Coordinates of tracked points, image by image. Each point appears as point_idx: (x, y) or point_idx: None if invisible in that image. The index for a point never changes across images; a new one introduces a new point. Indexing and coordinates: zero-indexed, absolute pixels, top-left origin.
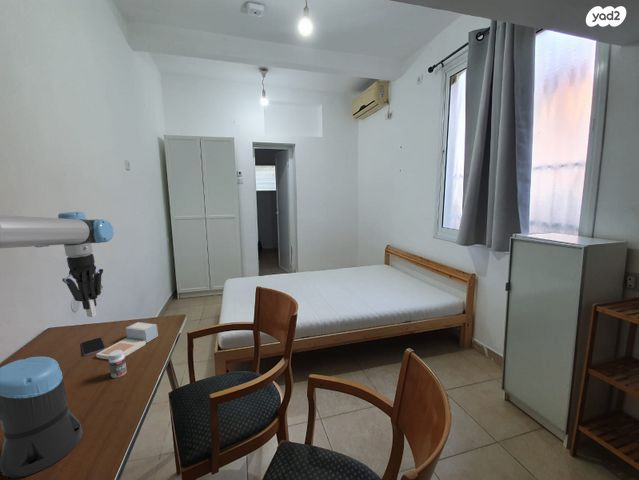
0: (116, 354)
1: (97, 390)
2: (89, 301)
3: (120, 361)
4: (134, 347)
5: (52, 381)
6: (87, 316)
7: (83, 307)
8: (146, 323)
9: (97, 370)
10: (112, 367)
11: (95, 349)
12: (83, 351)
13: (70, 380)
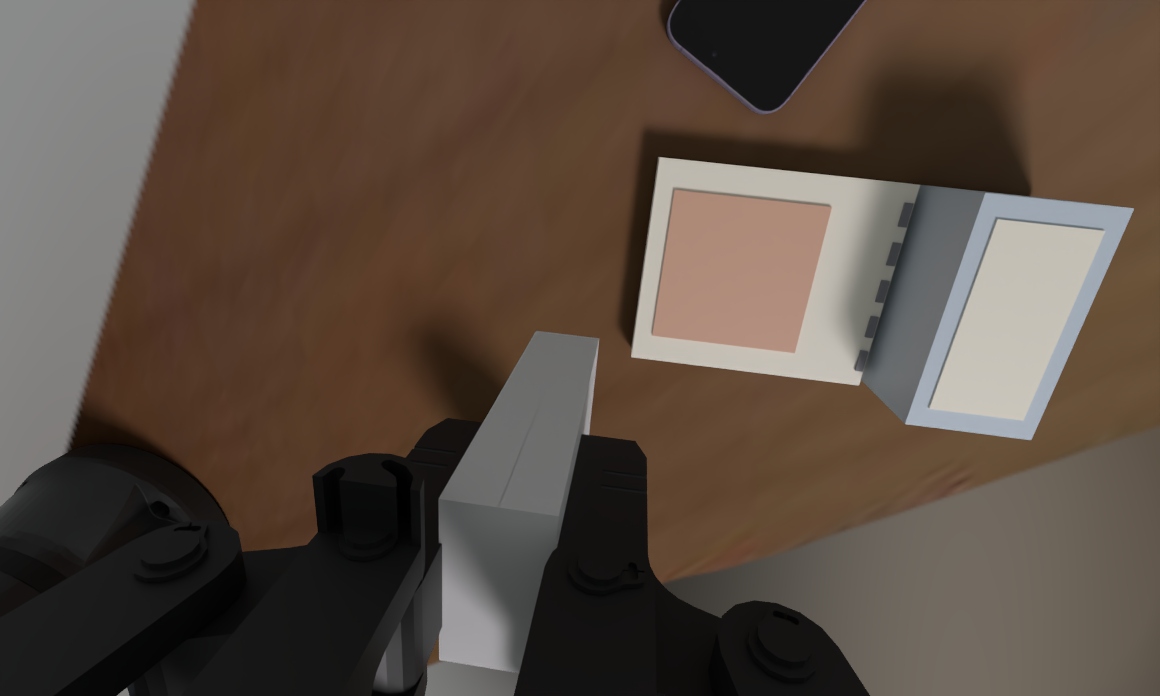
0: None
1: (399, 454)
2: (447, 640)
3: None
4: (765, 372)
5: None
6: (536, 334)
7: (419, 446)
8: (1071, 334)
9: (529, 307)
10: None
11: (748, 45)
12: None
13: (419, 234)
